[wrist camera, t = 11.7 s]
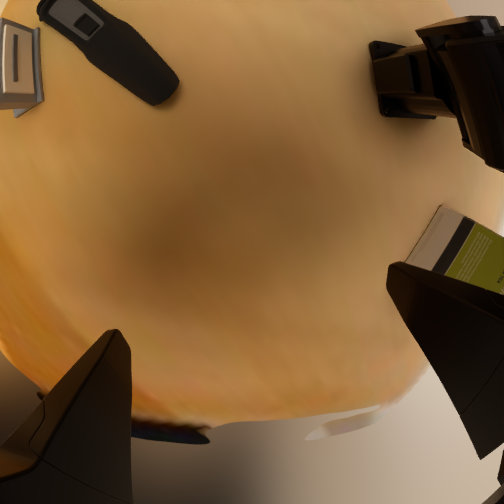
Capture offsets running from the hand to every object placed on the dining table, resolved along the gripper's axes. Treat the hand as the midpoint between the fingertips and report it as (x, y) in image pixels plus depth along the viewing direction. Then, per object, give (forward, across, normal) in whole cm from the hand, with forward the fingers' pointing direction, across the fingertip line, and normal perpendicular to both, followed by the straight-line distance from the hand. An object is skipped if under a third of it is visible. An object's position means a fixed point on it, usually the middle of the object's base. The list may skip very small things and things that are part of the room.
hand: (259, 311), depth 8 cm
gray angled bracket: (+12, +12, -15) cm, 23 cm away
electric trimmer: (+12, +6, -15) cm, 20 cm away
